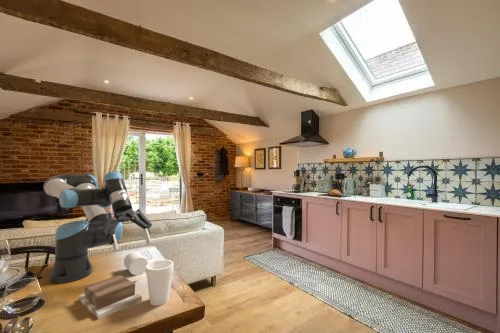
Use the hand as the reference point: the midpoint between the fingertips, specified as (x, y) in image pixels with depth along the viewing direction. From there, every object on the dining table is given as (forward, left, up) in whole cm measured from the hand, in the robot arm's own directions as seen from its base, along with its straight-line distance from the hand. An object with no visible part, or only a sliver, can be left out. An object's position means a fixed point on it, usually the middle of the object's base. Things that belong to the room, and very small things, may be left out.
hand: (133, 246), depth 100 cm
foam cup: (+20, 0, -16) cm, 25 cm away
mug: (-11, +9, -16) cm, 21 cm away
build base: (+6, -11, -15) cm, 20 cm away
